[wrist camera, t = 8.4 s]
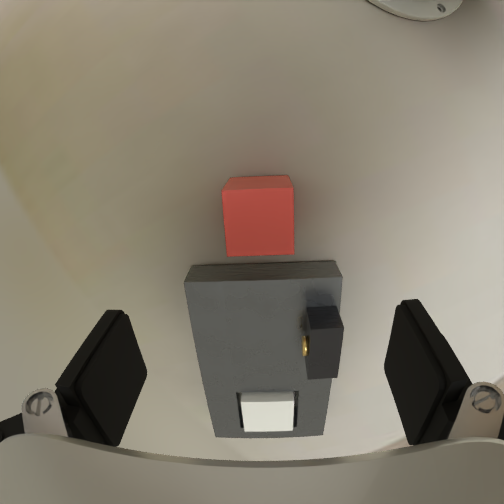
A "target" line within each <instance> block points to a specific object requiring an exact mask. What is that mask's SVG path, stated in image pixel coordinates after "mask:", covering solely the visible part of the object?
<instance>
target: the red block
mask: <svg viewBox="0 0 504 504" xmlns="http://www.w3.org/2000/svg"><path fill="white" fill-rule="evenodd" d="M222 203H223V215H224V227H225V239H226V250H227V257H229V256H260V255H289V254H294V194H293V186H292V183H291V181H290V179H289V176H288V175H278V176H252V177H232V178H230V179H229V180H228V182H227V183H226V185H225V186H224V188H223V189H222Z"/></svg>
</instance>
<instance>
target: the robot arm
mask: <svg viewBox="0 0 504 504" xmlns="http://www.w3.org/2000/svg"><path fill="white" fill-rule="evenodd" d="M368 1H370V2H371V3H373V4H375V5H376V6H378V7H380V8H382V9H383V10H385V11H388V12H390V13H393V14H395V15H397V16H400V17H404V18H408V19H411V20H420V21H431V20H437V19H441V18H444V17H446V16H448V15H450V14H452V13H453V12H454V11H456V10H457V9H458V8H459V6H460V5H461V3H462V1H463V0H368ZM384 370H385V374H386V377H387V380H388V383H389V385H390V388H391V391H392V394H393V397H394V400H395V403H396V406H397V409H398V412H399V415H400V418H401V421H402V425H403V428H404V431H405V434H406V437H407V441H408V443H409V445H413V446H409V447H404V448H399V449H393V450H387V451H380V452H374V453H367V454H360V455H352V456H344V457H334V458H323V459H310V460H290V461H231V460H229V461H228V460H211V459H199V458H188V457H177V456H169V455H161V454H154V453H147V452H141V451H135V450H129V449H124V448H119V447H117V446H118V445H119V444H120V442H121V439H122V437H123V434H124V431H125V429H126V426H127V424H128V421H129V419H130V416H131V414H132V411H133V409H134V406H135V404H136V401H137V399H138V396H139V394H140V392H141V389H142V387H143V384H144V382H145V380H146V377H147V369H146V366H145V363H144V360H143V358H142V355H141V352H140V349H139V346H138V343H137V340H136V337H135V334H134V331H133V328H132V325H131V322H130V319H129V316H128V315H127V314H125V313H124V312H123V311H122V310H107V311H106V312H105V313H104V314H103V316H102V317H101V318H100V320H99V321H98V323H97V324H96V325H95V327H94V328H93V330H92V331H91V333H90V334H89V335H88V337H87V338H86V339H85V341H84V342H83V344H82V345H81V347H80V348H79V350H78V351H77V353H76V354H75V356H74V357H73V359H72V360H71V361H70V363H69V364H68V366H67V367H66V369H65V370H64V372H63V373H62V375H61V377H60V378H59V379H58V381H57V383H56V384H55V385H56V387H57V389H56V390H55V392H54V391H53V390H51V389H48V388H47V389H46V388H42V389H37V390H35V391H33V392H31V393H30V394H29V395H28V396H27V397H26V398H25V399H24V401H23V403H22V413H20V414H18V415H16V416H13V417H11V418H8V419H6V420H3V421H1V422H0V504H504V394H503V392H502V391H501V389H499V388H498V387H497V386H496V385H494V384H491V383H488V382H477V383H474V384H472V382H471V381H470V379H469V377H468V375H467V374H466V372H465V370H464V368H463V367H462V365H461V363H460V362H459V360H458V358H457V357H456V355H455V353H454V352H453V350H452V348H451V347H450V345H449V344H448V342H447V340H446V339H445V337H444V336H443V335H442V334H441V333H440V331H439V330H438V328H437V326H436V325H435V323H434V322H433V320H432V319H431V317H430V316H429V314H428V313H427V311H426V310H425V308H424V307H423V305H422V304H421V302H420V301H419V300H418V299H412V300H403V301H402V302H401V304H400V305H397V307H396V310H395V315H394V321H393V326H392V331H391V336H390V340H389V345H388V349H387V354H386V358H385V363H384Z"/></svg>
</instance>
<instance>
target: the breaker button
mask: <svg viewBox="0 0 504 504" xmlns="http://www.w3.org/2000/svg"><path fill="white" fill-rule="evenodd" d="M241 407H242V415H243V423H244V431H245V432H264V431H293V416H294V391H286V392H242V395H241Z"/></svg>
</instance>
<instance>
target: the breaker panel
mask: <svg viewBox="0 0 504 504" xmlns="http://www.w3.org/2000/svg"><path fill="white" fill-rule="evenodd" d="M184 286H185V292H186V298H187V304H188V309H189V315H190V321H191V326H192V331H193V337H194V342H195V347H196V352H197V357H198V362H199V367H200V371H201V376H202V381H203V385H204V390H205V395H206V399H207V403H208V408H209V412H210V416H211V420H212V425H213V429H214V433H215V437H225V438H284V437H304V436H318V435H323V431H324V426H325V420H326V414H327V408H328V401H329V395H330V388H331V381H332V378H337V376H338V369H339V362H340V355H341V348H342V340H343V331H344V326H343V323H342V320H341V317H340V314H339V313H340V302H341V290H342V275H341V273H340V271H339V268H338V266H337V264H336V262H335V261H322V262H296V263H268V264H238V265H205V266H192V267H191V269H190V271H189V273H188V275H187V277H186V279H185V281H184ZM286 391H296V406H295V407H294V416H293V431H264V432H245V431H244V423H243V415H242V407H241V392H286Z"/></svg>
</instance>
